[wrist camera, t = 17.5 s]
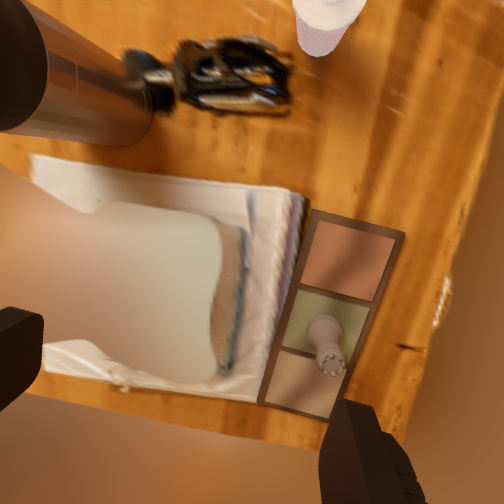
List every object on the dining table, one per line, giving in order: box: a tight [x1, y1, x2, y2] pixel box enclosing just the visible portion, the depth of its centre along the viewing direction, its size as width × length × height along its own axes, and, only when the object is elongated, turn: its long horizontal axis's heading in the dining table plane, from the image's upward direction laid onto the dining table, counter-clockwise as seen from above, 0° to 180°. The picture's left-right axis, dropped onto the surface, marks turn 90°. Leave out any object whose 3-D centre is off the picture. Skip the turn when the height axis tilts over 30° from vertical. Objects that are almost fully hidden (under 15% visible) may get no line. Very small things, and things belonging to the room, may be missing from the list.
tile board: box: [257, 209, 406, 423], centre depth 41 cm, size 11×28×1 cm, turn 167°
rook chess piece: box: [306, 315, 347, 377], centre depth 37 cm, size 4×4×8 cm
